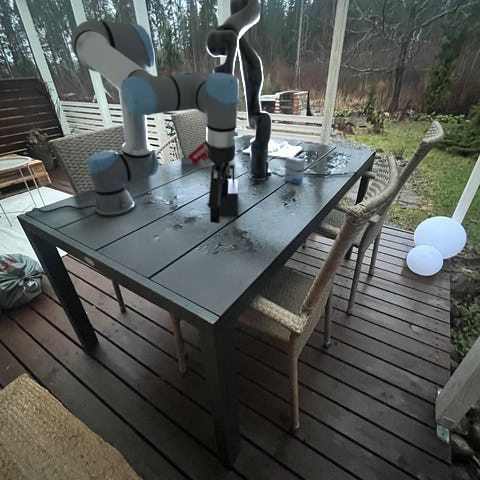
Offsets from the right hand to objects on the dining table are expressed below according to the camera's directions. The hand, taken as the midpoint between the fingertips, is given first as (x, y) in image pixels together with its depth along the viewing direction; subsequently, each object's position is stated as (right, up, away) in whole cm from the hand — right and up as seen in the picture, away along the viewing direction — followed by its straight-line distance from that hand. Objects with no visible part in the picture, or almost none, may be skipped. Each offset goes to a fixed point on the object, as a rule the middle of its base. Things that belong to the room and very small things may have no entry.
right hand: (225, 144), depth 108 cm
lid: (0, -16, +5) cm, 17 cm away
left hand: (-1, -28, -23) cm, 36 cm away
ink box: (+34, -7, +36) cm, 50 cm away
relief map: (+30, +26, +86) cm, 94 cm away
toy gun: (-16, +10, +62) cm, 65 cm away
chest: (0, -24, +9) cm, 26 cm away
